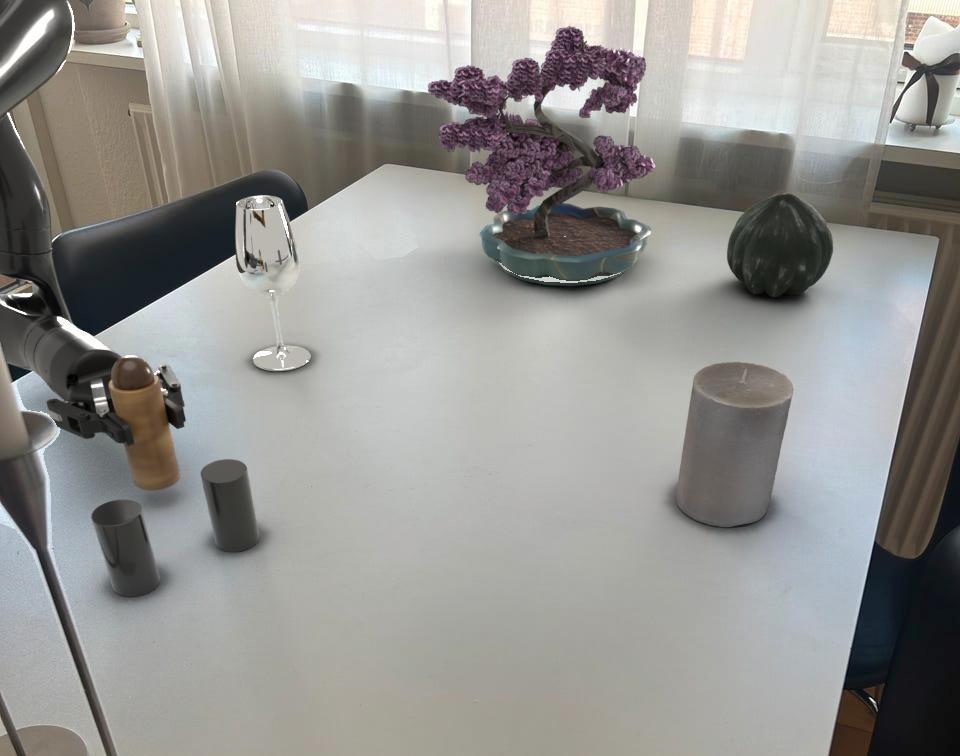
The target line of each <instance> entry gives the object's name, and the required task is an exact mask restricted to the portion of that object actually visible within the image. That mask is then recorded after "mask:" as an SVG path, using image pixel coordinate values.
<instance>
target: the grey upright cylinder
mask: <svg viewBox="0 0 960 756" xmlns="http://www.w3.org/2000/svg"><path fill="white" fill-rule="evenodd" d="M200 479H201V484H202V487H203V492H204V498H205V502H206V506H207V511H208V515H209V520H210V524H211V531H212V533H213V538H214V543H215V545H216V547H217V548H218V549H220V550H222V551H224V552H227V553H237V552H238V553H239V552H243V551H248V550H249V549H251V548H253V547H255V546H256V545H257V544H258V542H259V540H260V532H259V525H258V520H257V515H256V510H255V509H256V508H255V504H254V499H253V494H252V489H251V488H252V487H251V481H250V476H249V471H248V467H247V464H245V463H244V462H243V461H241V460H238V459H233V458H232V459H231V458H226V459H225V458H224V459H218V460H214V461H212V462H210V463H207V464H205V465H204V466H203V467H202V468H201V471H200Z"/></svg>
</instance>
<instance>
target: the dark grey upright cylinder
mask: <svg viewBox="0 0 960 756" xmlns="http://www.w3.org/2000/svg"><path fill="white" fill-rule="evenodd" d="M90 519H91V522H92V525H93V528H94V532H95V534H96V538H97V541H98V544H99V547H100V551H101V554H102V558H103V561H104V564H105V567H106V570H107V573H108V577H109V580H110V584H111V587H112V590H113V591H114V592H115V593H116V594H118V595H119V596H122V597H127V598H134V597H139V596H140V597H141V596H144V595H146V594H149V593H150V592H152V591H154V590H155V589H156V588H157V587H159V585H160V582H161V576H160V572H159V568H158V565H157V562H156V557H155V553H154V550H153V546H152V543H151V539H150V535H149V531H148V527H147V524H146V519H145V517H144V513H143V509H142V506H141V505H140V503H138V501H134V500H133V499H132V500H131V499H114V500H110V501H107V502H104V503H102V504H100V505H98V506H97V507H96V508H95V509H94V510H93V511H92V512H91V516H90Z"/></svg>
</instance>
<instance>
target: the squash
mask: <svg viewBox="0 0 960 756" xmlns="http://www.w3.org/2000/svg"><path fill="white" fill-rule="evenodd" d="M833 254H834V239H833V235H832V232H831V229H830V227H829V225H828V223H827V221H826V220H825V219H824V217H823V216H822V215H821V213H820V212H819V211H818V210H817V209H816V208H814V206H813V205H811V204H810V203H809V202H807V201H806V200H805V199H804V198H802V197H801V196H799V195H797V194H794V193H792V192H788V191H787V192H786V191H782V192H781V191H780V192H777V193H775V194H773V195H772V196H771V195H770V196H769V197H767V198H765V199H762V200H761V201H758V202H756V203H755V204H753V205H751V206H749V208H747V209H746V210H744V212H743V213H742V214H741V215H740V217H738V219H737V220H736V223H735V224H734V228H733V229H732V230H731V233H730V235H729V238H728V242H727V247H726V261H727V265H728V267H729V269H730V271H731V273H732V274H733V275H734V277H735V278H736V279H737V280H738V282H740V283H742V284H744V285H745V286H746V289H747V291H749V292H750V293H751V294H752V295H754V296H755V295H756V296H757V295H762V294H764V293H766V295H768V296H769V297H771V298H779V297H780V296H782V295H783V294H784V293H785V294H786V295H789V296H799V295H802V294H803V293H804V292H806V291H807V290H809V288H810V287H812V286H814V285H815V284H816V283H818V282H819V281H820V280H821V279H822V277H823V276H824V275H825V273H826V271H827V269H828V267H829V266H830V263H831V260H832V256H833Z"/></svg>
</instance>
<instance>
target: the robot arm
mask: <svg viewBox="0 0 960 756" xmlns="http://www.w3.org/2000/svg"><path fill="white" fill-rule="evenodd" d="M74 31H75V22H74V15H73V10H72V8H71V5H70V3H69V1H68V0H0V276H2V277H5V278H9V279H14V280H19V281H24V282H28V283H30V284H31V286H32V292H29V293H28V292H27V293H8V294H6V293H5V294H0V342H1V343H2V345H3V349H4V354H5V357H6V360H7V363H6V364H8V365H11V366H14V367H17V368H21V369H23V370H28V371H31V372H34V373H35V374H36V375H37V376H39V377H40V378H41V379H42V380H43V382H44V383H45V384H46V386H48V388H49V389H50V390H51V391H52V392H53V393H55V394H56V395H57V396H58V397H60V399H62V400H60V399H58V398H51V399H48V400H47V401H45V403H46V407H47V409H48V413H49V416H50V419H51V418H52V419H53V420H54V421H55V423H56V425H57V426H56V427H57V428H60V429H62V430H64V431H66V432H69V433H70V434H73V435H75V436H77V437H79V438H82V439H84V440H90V439H93V438H95V437H96V434H98V433H99V434H100V433H101V434H102V435H103V436H106V437H109V438H110V439H111V440H112V441H114V442H115V443H116V444H120V445H121V444H123V445H124V444H125V445H126V446H130V445H133V444H134V439H133V435H132V431H131V428H130V426H129V424H127V423H126V422H125V421H124V420H123V419H121V418H120V417H119V416H117V415H116V412H115V409H114V405H113V401H112V397H111V393H110V389H109V382H110V381H111V370H112V367H113V365H114V364H115V362H116V361H117V360H119V359H120V358H122V357H123V356H121V355H120V354H119V353H117V352H116V351H115V350H113V349H112V348H110V346H108V345H107V344H105V343H104V342H102V341H101V340H99V338H97V337H96V336H94V335H93V334H90V333H89V332H86V331H85V330H84V331H83V330H82V329H81V328H80V327H78V326H77V325H76V324H74V323H73V319H72V317H71V314H70V311H69V308H68V305H67V302H66V300H65V297H64V294H63V292H62V289H61V285H60V281H59V278H58V274H57V270H56V266H55V261H54V254H53V253H54V251H53V235H52V219H51V217H52V216H51V208H50V207H51V206H50V202H49V198H48V194H47V191H46V188H45V185H44V183H43V180H42V179H41V176H40V174H39V172H38V170H37V168H36V166H35V164H34V162H33V160H32V158H31V157H30V154H29V153H28V152H27V149H26V148H25V145H24V144H23V141H22V140H21V137H20V136H19V134H18V132H17V130H16V128H15V125H14V123H13V121H12V118H11V116H10V113H11V112H12V111H14V109H15V108H17V107H18V106H19V105H20V104H21V103H23V102H24V101H25V100H27V99H28V98H30V97H31V96H32V95H33V94H35V93H36V92H37V91H38V90H40V89H41V88H42V87H44V85H46V84H47V83H48V82H50V80H52V79H53V78H54V77H55V76H56V75H57V74H58V72H59V71H60V70H61V69H62V67H63V65H64V63H65V62H66V60H67V58H68V55H69V53H70V51H71V48H72V44H73V40H74V39H73V38H74ZM157 370H158V371H156V372H155V373H154V374H155V375H157V376H158V378H159V381H160V386H161V390H162V395H163V399H164V404H165V408H166V413H167V417H168V421H169V425H170V426H172V427H174V428H175V429H176V430H179V429H182V428H185V422H186V421H187V419H186V415H185V410H184V408H185V405H186V404H185V400H184V397H183V392H182V385H181V383H180V381H179V379H178V377H177V376H176V374H175V372H174V371H173V369H172V367H171V366H170V365H169V364H160V365H159V366H157ZM52 419H51V420H52Z"/></svg>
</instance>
